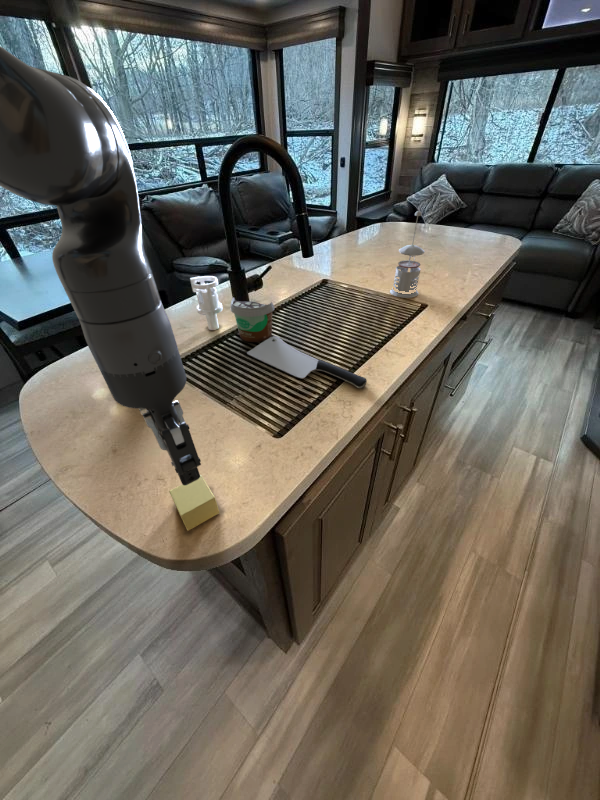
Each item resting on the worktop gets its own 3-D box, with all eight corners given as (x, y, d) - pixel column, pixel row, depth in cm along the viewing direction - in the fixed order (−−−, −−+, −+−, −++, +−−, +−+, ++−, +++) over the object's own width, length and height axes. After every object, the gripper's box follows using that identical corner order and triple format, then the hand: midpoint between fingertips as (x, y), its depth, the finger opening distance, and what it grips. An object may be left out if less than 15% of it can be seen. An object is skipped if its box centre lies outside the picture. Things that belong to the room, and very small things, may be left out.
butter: (219, 513, 50) (214, 497, 47) (187, 531, 48) (180, 515, 45) (206, 490, 53) (201, 474, 50) (176, 506, 51) (168, 490, 48)
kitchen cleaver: (245, 350, 85) (272, 332, 90) (247, 356, 86) (273, 337, 91) (345, 400, 69) (371, 374, 74) (345, 405, 70) (371, 380, 75)
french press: (387, 295, 113) (399, 213, 98) (393, 284, 122) (405, 206, 106) (416, 299, 110) (434, 214, 95) (421, 287, 119) (437, 207, 103)
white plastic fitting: (198, 325, 99) (187, 274, 89) (221, 320, 101) (212, 270, 92) (205, 335, 94) (193, 282, 84) (228, 329, 96) (220, 277, 87)
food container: (226, 340, 91) (220, 305, 85) (237, 330, 96) (232, 296, 89) (267, 347, 88) (264, 311, 82) (276, 336, 92) (274, 302, 86)
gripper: (84, 334, 36) (135, 439, 46) (112, 401, 27) (168, 513, 37) (154, 316, 39) (187, 417, 49) (200, 369, 30) (229, 481, 40)
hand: (179, 458), depth 43 cm, fingers open, 8 cm apart
